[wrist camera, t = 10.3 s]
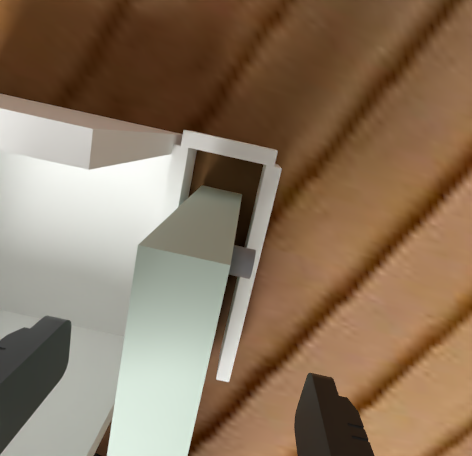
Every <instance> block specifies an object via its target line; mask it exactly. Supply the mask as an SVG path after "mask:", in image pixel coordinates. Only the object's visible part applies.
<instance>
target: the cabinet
mask: <svg viewBox="0 0 472 456" xmlns="http://www.w3.org/2000/svg"><path fill="white" fill-rule="evenodd" d="M197 150H201V151H206V152H210V153H215V154H219V155H224V156H228V157H233V158H237V159H242V160H246V161H251V162H255V163H260V164H264V165H263V169H262V173H261V177H260V182H259V186H258V190H257V195H256V199H255V203H254V207H253V212H252V216H251V220H250V225H249V229H248V233H247V237H246V242H245V246H244V247H245V248H250V249H254V250H256V254H255V260H254V265H253V270H252V274H251V277H250V279H247V278H243V277H238V276H237V280H236V285H235V289H234V293H233V298H232V302H231V306H230V310H229V315H228V319H227V323H226V328H225V332H224V336H223V340H222V345H221V349H220V355H219V362H218V369H217V376H216V380H220V381H225V382H229V380H230V376H231V372H232V368H233V364H234V360H235V356H236V352H237V348H238V344H239V340H240V336H241V332H242V328H243V324H244V320H245V316H246V312H247V308H248V303H249V299H250V295H251V291H252V287H253V283H254V279H255V275H256V271H257V267H258V263H259V259H260V255H261V251H262V247H263V243H264V239H265V235H266V231H267V227H268V223H269V219H270V215H271V211H272V207H273V203H274V199H275V195H276V191H277V187H278V182H279V178H280V174H281V170H282V168H281V167H280V166H279V165H278V164H275V161H276V157H277V153H278V151H277V150H275V149H272V148H267V147H263V146H258V145H254V144H249V143H245V142H240V141H236V140H231V139H227V138H222V137H218V136H213V135H209V134H204V133H200V132H195V131H189V130H183V134H180V133H175V132H171V131H166V130H162V129H157V128H153V127H148V126H144V125H139V124H135V123H130V122H126V121H121V120H117V119H112V118H108V117H104V116H99V115H95V114H90V113H86V112H81V111H77V110H72V109H68V108H63V107H59V106H54V105H50V104H45V103H41V102H36V101H32V100H27V99H23V98H18V97H14V96H9V95H5V94H0V340H1V339H2V338H3V337H5V336H6V335H8V334H10V333H12V332H15V331H17V330H19V329H21V328H24V327H26V328H31V327H32V326H34V325H35V324H36V323H37V322H38V321H39V320H41V319H42V318H43V317H44V316H52V317H57V318H61V319H66V320H70V321H71V325H72V327H71V339H70V351H69V361H68V365H67V368H66V371H65V373H64V375H63V377H62V378H61V380H60V381H59V382H58V384H57V385H56V386H55V387H54V388H53V390H52V391H51V392H50V393H49V395H48V396H47V397H46V398H45V400H44V401H43V402H42V403H41V405H40V406H39V407H38V408H37V410H36V411H35V412H34V413H33V415H32V416H31V417H30V418H29V420H28V421H27V422H26V423H25V424H24V426H23V427H22V428H21V429H20V431H19V432H18V433H17V434H16V436H15V437H14V438H13V439H12V441H11V442H10V443H9V444H8V446H7V447H6V448H5V449H4V451H3V452H2V453H1V454H0V456H94V454H95V452H96V450H97V448H98V446H99V444H100V442H101V440H102V438H103V436H104V434H105V432H106V430H107V428H108V426H109V424H110V422H111V420H112V418H113V411H114V404H115V397H116V390H117V384H118V377H119V370H120V363H121V357H122V350H123V343H124V336H125V329H126V323H127V316H128V309H129V302H130V295H131V289H132V282H133V275H134V268H135V261H136V255H137V248H138V244H140V243H141V242H142V241H143V240H144V239H145V238H146V237H147V236H148V235H149V234H150V233H151V232H152V231H153V230H155V229H156V228H157V227H158V226H159V225H160V224H161V223H162V222H163V221H164V220H165V219H166V218H167V217H168V216H170V215H171V214H172V213H173V212H174V211H175V210H176V209H177V208H178V207H179V206H180V205H181V204H182V203H183V202H185V201H186V200H187V199H188V197H189V192H190V186H191V181H192V175H193V170H194V164H195V159H196V153H197Z"/></svg>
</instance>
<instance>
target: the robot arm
mask: <svg viewBox="0 0 472 456" xmlns="http://www.w3.org/2000/svg"><path fill="white" fill-rule="evenodd" d="M71 327H72V325H71V321H70V320H66V319H61V318H57V317H52V316H44V317H43V318H42V319H41V320H39V321H38V322H37V323H36V324H35V325H34V326H32V327H31V328H26V327H24V328H21V329H19V330H17V331H15V332H12V333H10V334H8V335H6V336H5V337H3V338H2V339H1V340H0V454H1V453H2V452H3V451H4V449H5V448H6V447H7V446H8V444H9V443H10V442H11V441H12V439H13V438H14V437H15V436H16V434H17V433H18V432H19V431H20V429H21V428H22V427H23V426H24V424H25V423H26V422H27V421H28V420H29V418H30V417H31V416H32V415H33V413H34V412H35V411H36V410H37V408H38V407H39V406H40V405H41V403H42V402H43V401H44V400H45V398H46V397H47V396H48V395H49V393H50V392H51V391H52V390H53V388H54V387H55V386H56V385H57V384H58V382H59V381H60V380H61V378H62V377H63V375H64V373H65V371H66V368H67V365H68V361H69V351H70V339H71ZM363 427H364V426H363V424H362V421H361V418H360V415H359V413H358V411H357V410H356V408H355V407H354V406H353V405H352V403H351V402H350V401H349V399H348V398H346V397H342V396H339V395H338V392H337V389H336V386H335V383H334V380H333V378H332V377H327V376H322V375H318V374H313V373H309V374H308V375H307V378H306V381H305V384H304V387H303V390H302V394H301V397H300V400H299V403H298V406H297V410H296V414H295V424H294V428H295V438H296V446H297V453H298V456H374V453H373V451H372V448H371V445H370V442H368V437H367V434H366V432H365V430H364V429H363Z"/></svg>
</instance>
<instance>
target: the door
mask: <svg viewBox="0 0 472 456" xmlns="http://www.w3.org/2000/svg"><path fill="white" fill-rule="evenodd" d="M241 199H242V194H239V193H235V192H230V191H226V190H221V189H217V188H212V187H207V186H203V185H202V186H201V187H199V188H198V189H197V190H196V191H195V192H194V193H193V194H192V195H191V196H190V197H189V198H188V199H187V200H186V201H185V202H183V203H182V204H181V205H180V206H179V207H178V208H177V209H176V210H175V211H174V212H173V213H172V214H171V215H170V216H168V217H167V218H166V219H165V220H164V221H163V222H162V223H161V224H160V225H159V226H158V227H157V228H156V229H155V230H153V231H152V232H151V233H150V234H149V235H148V236H147V237H146V238H145V239H144V240H143V241H142V242H141V243H140V244H138V248H137V255H136V261H135V268H134V275H133V282H132V289H131V295H130V302H129V309H128V316H127V323H126V329H125V336H124V343H123V350H122V357H121V363H120V370H119V377H118V384H117V390H116V397H115V404H114V411H113V418H112V424H111V431H110V438H109V445H108V452H107V456H188V451H189V447H190V443H191V438H192V434H193V429H194V425H195V420H196V416H197V412H198V407H199V403H200V398H201V394H202V390H203V385H204V381H205V376H206V372H207V367H208V363H209V359H210V354H211V350H212V345H213V341H214V336H215V332H216V328H217V323H218V319H219V314H220V310H221V305H222V301H223V297H224V292H225V288H226V283H227V279H228V274H229V275H233V276H238V277H243V278H247V279H250V277H251V274H252V270H253V265H254V260H255V254H256V250H254V249H250V248H245V247H241V246H236V245H234V241H235V235H236V229H237V223H238V217H239V211H240V205H241Z"/></svg>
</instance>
